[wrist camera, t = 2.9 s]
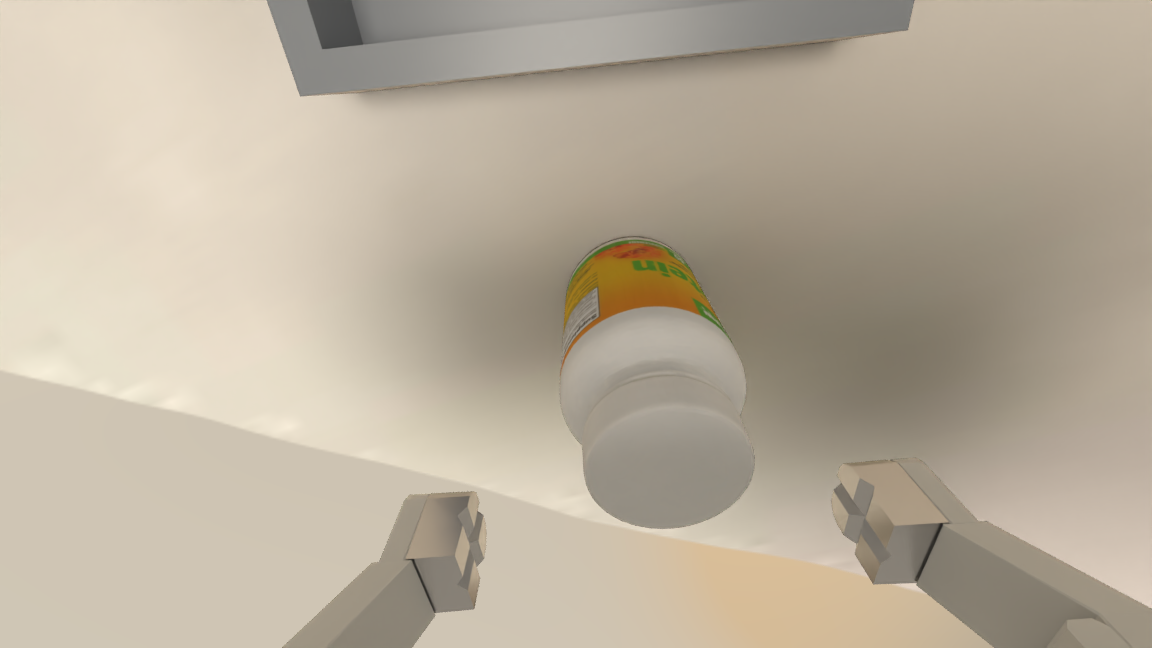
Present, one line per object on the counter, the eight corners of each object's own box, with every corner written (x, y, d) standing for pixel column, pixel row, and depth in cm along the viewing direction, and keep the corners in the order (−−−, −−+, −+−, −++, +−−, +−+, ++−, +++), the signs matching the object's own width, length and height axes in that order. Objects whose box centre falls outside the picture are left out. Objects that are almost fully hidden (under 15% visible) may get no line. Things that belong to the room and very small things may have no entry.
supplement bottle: (720, 272, 18) (842, 441, 10) (648, 367, 21) (695, 571, 12) (607, 209, 17) (632, 338, 9) (544, 317, 19) (514, 504, 11)
